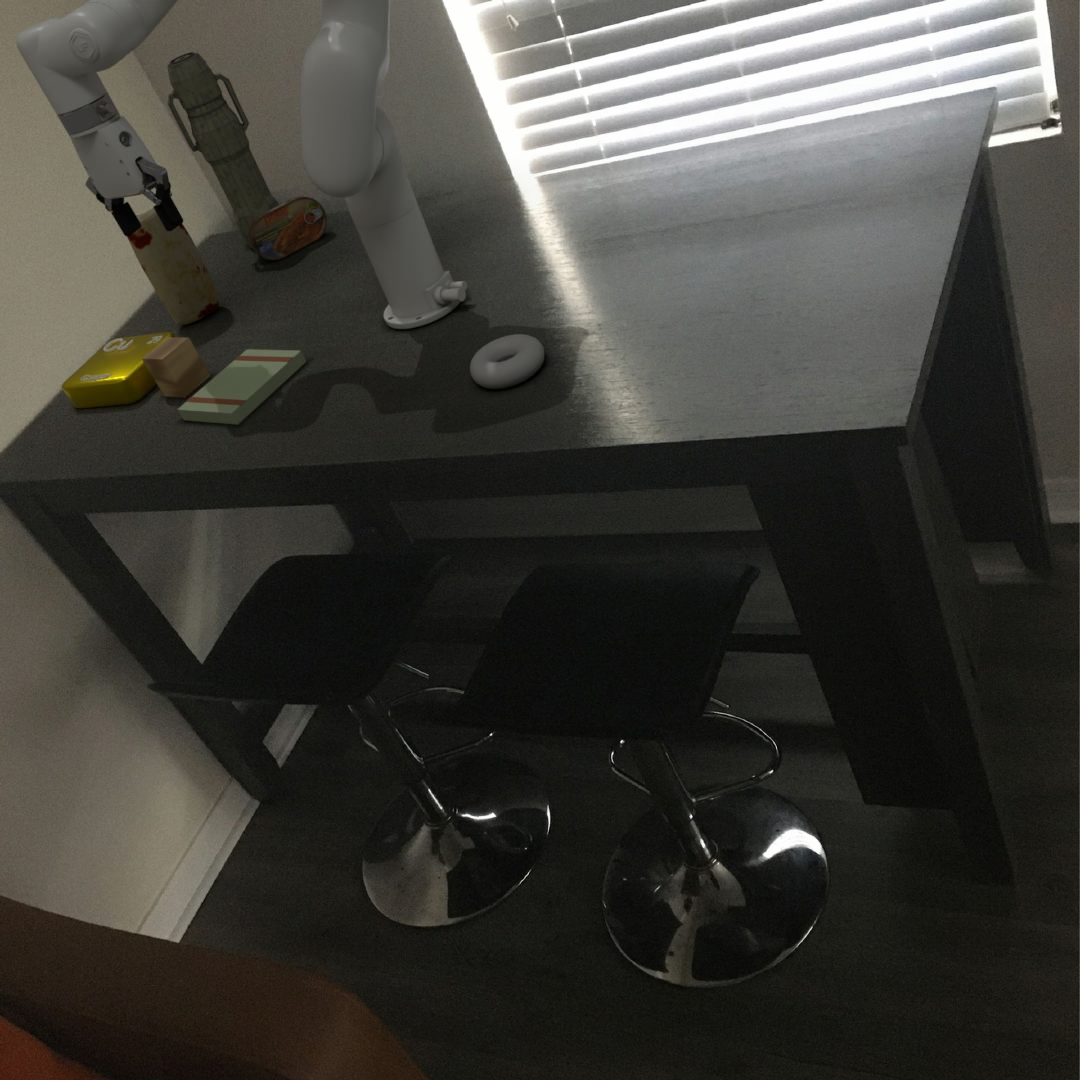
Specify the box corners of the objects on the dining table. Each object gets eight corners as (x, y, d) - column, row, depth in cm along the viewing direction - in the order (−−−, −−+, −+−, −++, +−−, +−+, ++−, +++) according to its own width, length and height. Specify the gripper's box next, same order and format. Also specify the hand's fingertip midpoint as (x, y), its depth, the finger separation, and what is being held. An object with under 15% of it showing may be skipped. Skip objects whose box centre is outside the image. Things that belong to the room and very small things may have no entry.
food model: (183, 334, 186) (122, 227, 174) (171, 325, 191) (111, 221, 179) (232, 306, 189) (175, 199, 177) (219, 299, 194) (162, 194, 182)
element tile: (70, 410, 175) (53, 385, 172) (124, 359, 185) (109, 335, 182) (138, 404, 169) (121, 378, 166) (190, 352, 179) (175, 327, 176)
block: (210, 375, 169) (189, 337, 164) (185, 397, 165) (162, 359, 161) (190, 374, 171) (168, 337, 167) (164, 396, 168) (141, 358, 164)
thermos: (303, 228, 210) (218, 45, 189) (249, 256, 207) (157, 73, 186) (289, 219, 217) (205, 42, 196) (237, 246, 214) (146, 68, 193)
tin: (264, 268, 199) (243, 226, 194) (259, 264, 202) (238, 222, 197) (334, 231, 203) (315, 189, 198) (329, 228, 205) (310, 186, 200)
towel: (306, 361, 162) (300, 349, 160) (238, 424, 152) (231, 412, 151) (252, 360, 168) (246, 348, 167) (183, 420, 159) (176, 409, 158)
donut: (463, 378, 143) (494, 403, 135) (454, 356, 141) (484, 379, 133) (527, 343, 145) (561, 366, 137) (519, 321, 143) (553, 342, 135)
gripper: (147, 96, 146) (209, 212, 156) (72, 113, 156) (135, 221, 166) (109, 119, 142) (175, 238, 152) (33, 135, 151) (101, 246, 162)
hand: (154, 229), depth 159 cm, fingers open, 9 cm apart
